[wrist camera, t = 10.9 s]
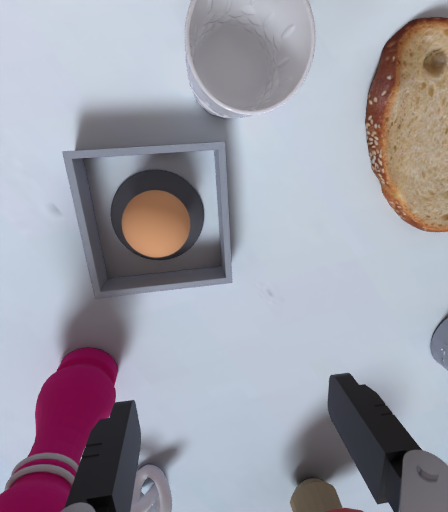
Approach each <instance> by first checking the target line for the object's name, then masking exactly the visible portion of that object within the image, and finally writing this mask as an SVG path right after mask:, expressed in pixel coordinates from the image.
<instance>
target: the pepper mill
mask: <svg viewBox="0 0 448 512" xmlns="http://www.w3.org/2000/svg"><path fill="white" fill-rule="evenodd" d="M116 377H117V365H116V362H115V361H114V359H113V358H112V357H111V356H110V355H109V354H108V353H106V352H104V351H102V350H99V349H95V348H81V349H77V350H75V351H73V352H70V353H69V354H68V355H66V356H65V358H64V359H63V360H62V362H61V364H60V366H59V367H58V369H57V371H56V372H55V373H54V374H52V375H51V376H50V377H49V378H48V379H47V380H46V382H45V383H44V384H43V386H42V388H41V391H40V393H39V396H38V399H37V403H36V411H35V419H36V437H35V442H34V445H33V447H32V449H31V452H30V454H29V455H28V457H27V458H25V459H24V460H22V461H21V462H19V463H18V464H17V465H16V467H15V468H14V469H13V471H12V474H11V477H10V479H9V480H8V482H7V483H6V486H5V491H4V492H3V493H2V494H0V512H60V511H62V510H63V509H64V507H65V504H66V502H67V499H68V496H69V493H70V490H71V487H72V484H73V481H74V478H75V475H76V472H77V470H78V467H79V463H80V459H81V456H82V454H83V451H84V449H85V447H86V443H87V440H88V437H89V434H90V432H91V430H92V429H93V428H94V426H95V425H96V424H97V422H98V421H99V420H100V419H105V418H109V416H110V414H111V411H112V407H113V405H114V403H115V398H116V392H115V388H114V385H115V381H116Z"/></svg>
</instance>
